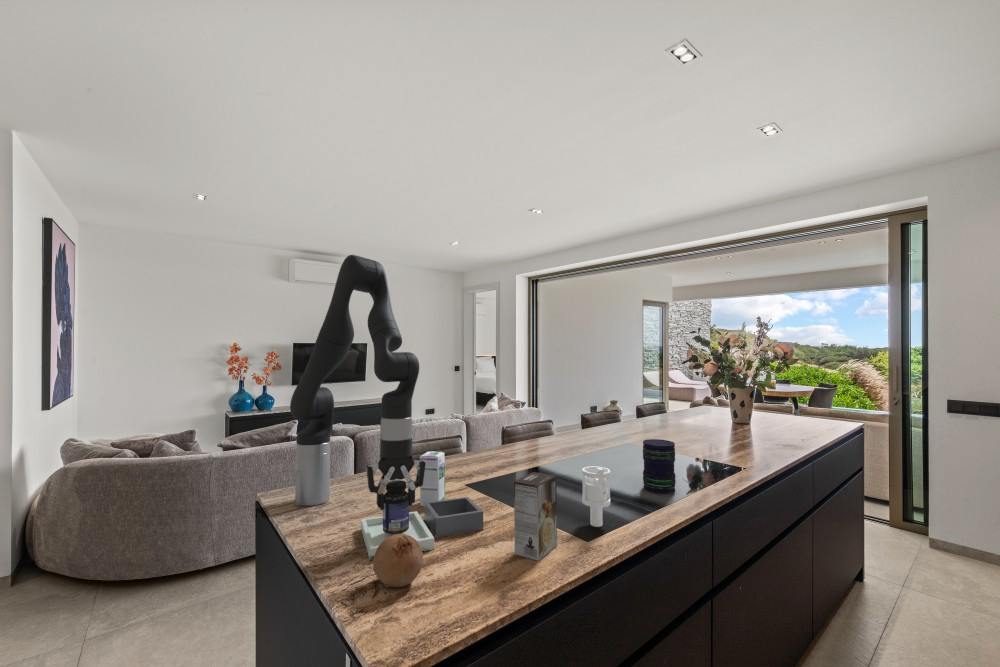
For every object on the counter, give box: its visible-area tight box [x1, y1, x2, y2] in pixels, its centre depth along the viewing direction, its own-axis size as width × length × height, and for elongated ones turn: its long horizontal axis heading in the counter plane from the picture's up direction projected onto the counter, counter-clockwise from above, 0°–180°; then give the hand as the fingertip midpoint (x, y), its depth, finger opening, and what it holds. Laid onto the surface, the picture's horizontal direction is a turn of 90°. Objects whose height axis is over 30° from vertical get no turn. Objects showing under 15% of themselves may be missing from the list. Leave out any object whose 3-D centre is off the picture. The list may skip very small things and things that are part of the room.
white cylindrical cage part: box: [581, 465, 611, 528], centre depth 116 cm, size 7×7×15 cm
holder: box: [423, 496, 484, 538], centre depth 116 cm, size 12×12×4 cm
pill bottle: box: [382, 479, 410, 534], centre depth 107 cm, size 6×6×11 cm
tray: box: [360, 511, 435, 562], centre depth 107 cm, size 14×18×2 cm
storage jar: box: [642, 438, 677, 495], centre depth 144 cm, size 10×10×15 cm
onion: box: [372, 534, 424, 588], centre depth 88 cm, size 10×9×10 cm
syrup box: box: [419, 450, 446, 507], centre depth 131 cm, size 6×6×14 cm
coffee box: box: [513, 472, 558, 562], centre depth 102 cm, size 9×6×16 cm
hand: (395, 506), depth 107 cm, fingers closed on pill bottle, 6 cm apart
